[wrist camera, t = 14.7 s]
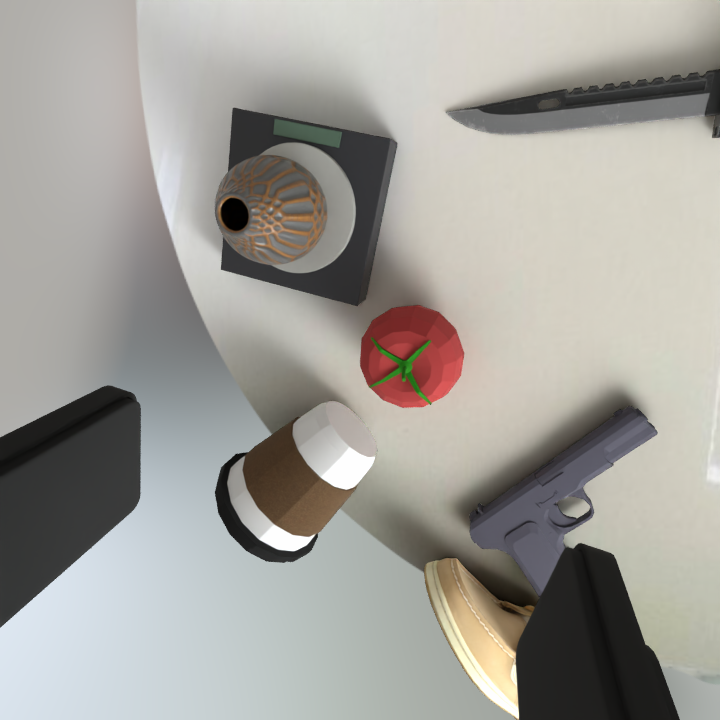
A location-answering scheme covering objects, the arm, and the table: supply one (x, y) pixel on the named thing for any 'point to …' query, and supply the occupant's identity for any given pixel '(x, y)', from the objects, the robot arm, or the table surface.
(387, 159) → the scale
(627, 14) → the table surface
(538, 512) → the handgun
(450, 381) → the tomato
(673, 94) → the knife
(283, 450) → the coffee cup
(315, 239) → the vase
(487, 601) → the boat shoe
